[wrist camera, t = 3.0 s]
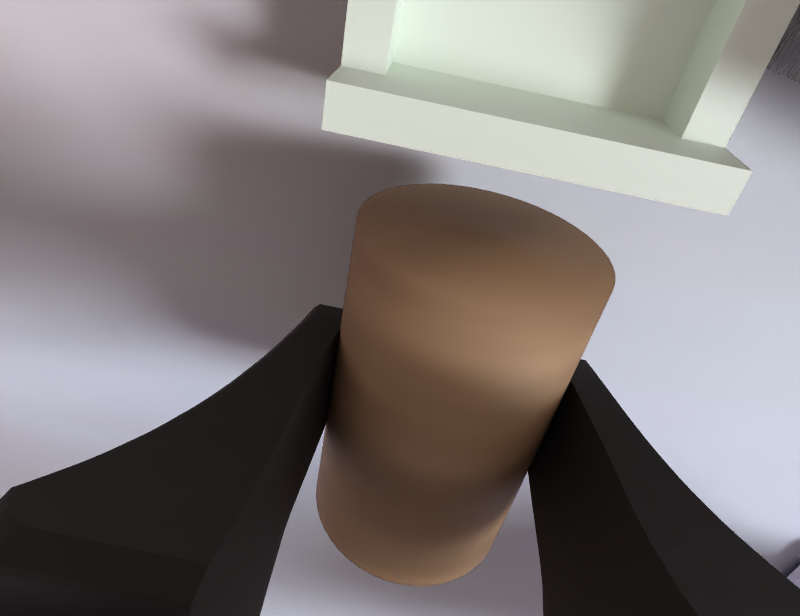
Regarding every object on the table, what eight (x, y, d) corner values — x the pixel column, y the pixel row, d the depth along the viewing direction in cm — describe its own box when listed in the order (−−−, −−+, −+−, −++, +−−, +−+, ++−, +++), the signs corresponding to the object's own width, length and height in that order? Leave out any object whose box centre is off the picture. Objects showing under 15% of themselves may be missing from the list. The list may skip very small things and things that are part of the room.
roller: (496, 447, 15) (500, 606, 12) (338, 411, 15) (292, 559, 12) (592, 214, 11) (643, 344, 8) (379, 166, 11) (328, 274, 8)
